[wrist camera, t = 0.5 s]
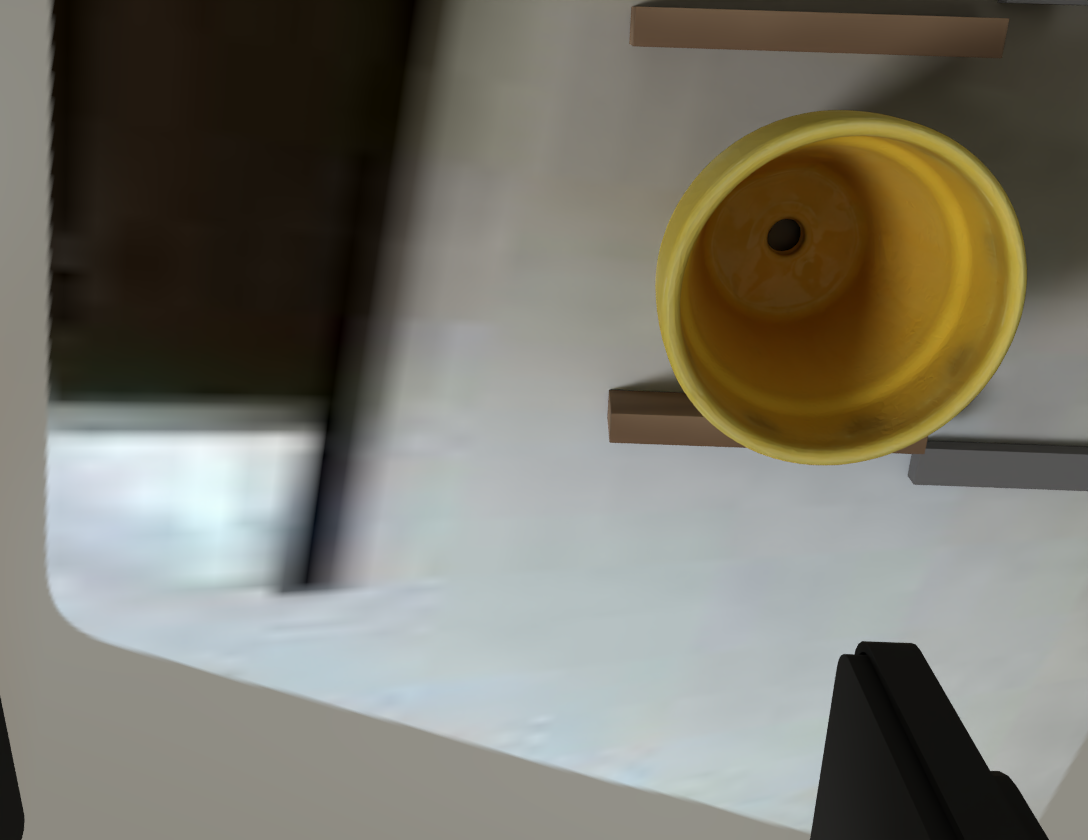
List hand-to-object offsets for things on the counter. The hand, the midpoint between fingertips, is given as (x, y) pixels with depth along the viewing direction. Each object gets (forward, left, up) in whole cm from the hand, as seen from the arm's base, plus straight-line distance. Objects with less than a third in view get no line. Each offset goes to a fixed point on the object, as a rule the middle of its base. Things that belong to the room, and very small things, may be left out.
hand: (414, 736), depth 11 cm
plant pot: (0, +10, -29) cm, 30 cm away
